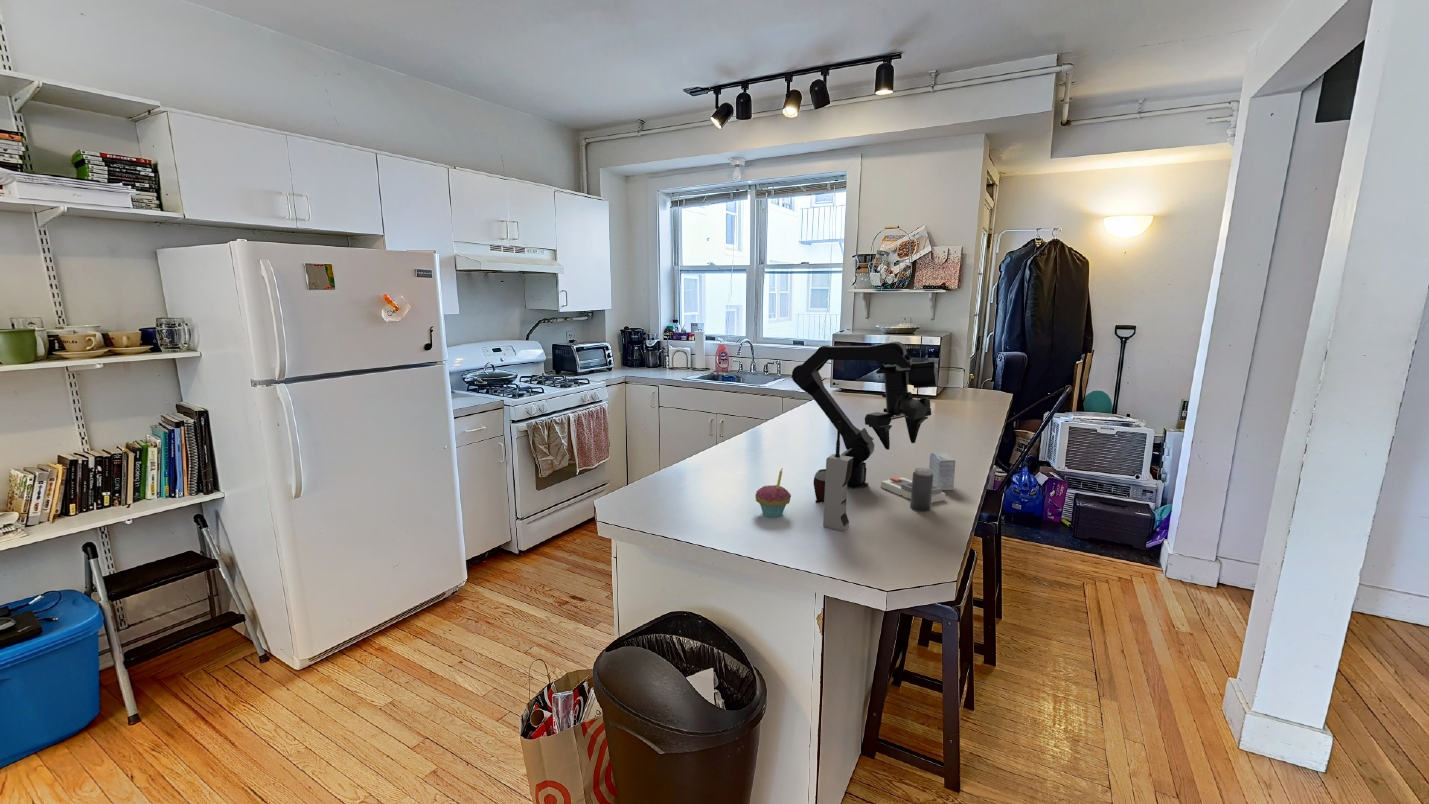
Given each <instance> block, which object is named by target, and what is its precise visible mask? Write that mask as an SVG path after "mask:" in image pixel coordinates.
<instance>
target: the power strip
mask: <svg viewBox="0 0 1429 804" xmlns="http://www.w3.org/2000/svg"><path fill="white" fill-rule="evenodd" d="M889 478H890V479H886V480H880V488H882V489H884V490H886V489H887V491H888V492H891V493H893V492H894V494H897V495H899V496H901V495H902V496H901V497H903V498H904V499H905V498H906V499H908V498H909V500H910V499H911V491H912V480H911V479H908V478H905V477H904V476H903V477H897V476H893V477H889ZM945 500H946V493H945V492H943V490H942V488H940V487H937V486H934V485H932V497H931V504H933V502H934V503H937V502H941V501H943V502H944V501H945Z"/></svg>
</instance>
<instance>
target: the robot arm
mask: <svg viewBox="0 0 1429 804" xmlns="http://www.w3.org/2000/svg"><path fill="white" fill-rule="evenodd" d="M828 361H871V362H875V363H879V364H881V365H880V367H879V368H878V369H877V370H875V374H879V375H880V374H883V379H884V391H885V392H884V393H882V394H881V395H882V398H885V403H886V405H885V406H886V407H884V408H883V412H880V411H879V412H878V411H876V412H871V413H870V412H869V413H867V414H865V416H864V425H866V426H868V427H869V428H872V430H873V431H874V432H875V433H876V435H877V437H878V439H879V440H880V442H881V444H882V445H883V448H884V449H885V450H890V446H891V443H890V430H891V429H892V427H893V425H891V422H892V420H897V419H901V418H904V419H905V424H906V428H907V429H906V430H907V433H908V437H909V441H910V443H911V444H916V440H917V436H918V434H919V431H920V427H921V425H922V423H923V422H925V421H926V420H928V419H929V417H930V416H932V408H931V399H930V398H929V397H921V398H919V399H918V398H917V399H915V398H914V397H913V393H912V392H911V391H909V389H908V384H909V385H910V386H913V388H914V389H921V388H922V389H924V388H925V389H926V388H937V387H938V381H939V379H938V378H939V377H938V372H937V366H936V361H935V360H929V361H925V362H924V361H923V362H915V361H914V359H912V358H911V356H909V354H908V353H907V348H906V346H905V344H903V343H902V342H901V341H890V342H884V343H878V344H874V345H828V344H827V345H822V346H819V347H818V349H817V350H816V351H815V352H814V353H813V354H811V356H810V357H808V358H807V359H806V360H805V361H804V362H803V363H802V364H799V365H796V366H795V367H794V368H793V369H792V371H791V379H792V381H793V382H794V383H795V384H796V385H797V387H799V388H800V389H801V390H803V391H804V392H805V393H807V394H808V395H810V396H811V397H812V399H813V400H814V401H815V402H816V404H817V405H818V407H819V408H820V409H821V410H822V413H824V415H825V416H826V417H827V418H828V420H829V421H830V423H831V424H832V425H833V427H834V428H835V429H836V430H837V431H838V421H840V422H841V426H840V437H841V438H842V441H843V444H844V447H845V449H846V451H847V450H849V449H851V448H852V449H851V450H850V451H848V452H847V453H846V454H844V455H843V456H849V457H853V462H852V469H851V475H850V478H849V480H848V484H847V488H849V489H856V488H858V489H859V488H862V487H867V486H869V483H868V482H867V481H866V480H867V463H866V462H865V461H866V460H869V458H870V457H871V455H872V454H873V453H874V451H875V443H874V437H872V436H871V435H870V434H869V433H868V431H867V429H866V428H865V427H863V428H862V429H861V430H860V429H859V428H858V427H856V426H855V425H854V424H853V422H852V421H851V420H850V418H849V417H848V416H847V415H846V413H845V412H844V411H843V409H842V408H841V407H840V405H839V404H838V402H836V400H835V399H834V397H833V396H832V395H831V393H830V392H829V391H828V390H827V388H826V387H825V385H824V382H823V379H822V378H823V377H822V375H821V374H820V370H821V369H823V367H824V366H825V364H826V363H827V362H828ZM887 365H889V366H887ZM899 367H900V368H899ZM907 373H908V374H907Z"/></svg>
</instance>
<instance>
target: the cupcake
mask: <svg viewBox="0 0 1429 804" xmlns="http://www.w3.org/2000/svg"><path fill="white" fill-rule="evenodd" d="M782 476H783V467H782V468H781V470H779V474H778V479H777V483H776V484H773V485H770V484H769V485H764V486H762V487H760V488H758V489H757V490H756V492H755V494H754V495H755V501H756V503H759V506H760V508H761V512H762V515H763V516H765V517H767V518H772V519H776V518H781V517H782V516H783V514H784V512H785V508H786V507H787V505H788V504H790V501H791V497H792V494H791V493H790V492H789V491H788V489H786V488H785V487H783V486H780V485H781V480H782Z"/></svg>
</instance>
